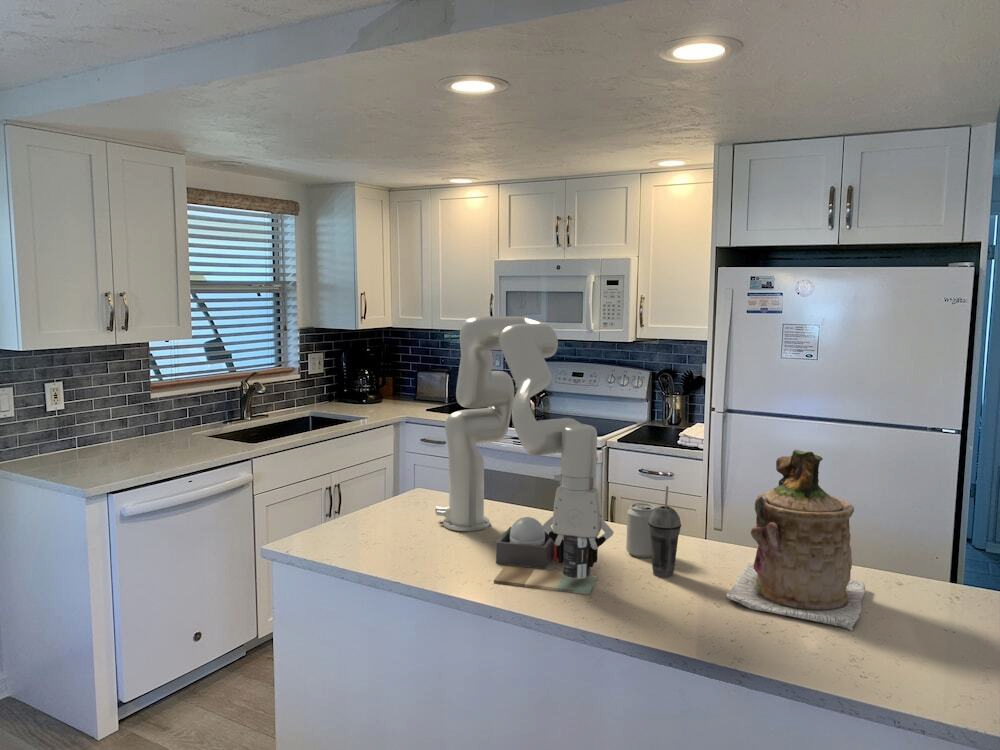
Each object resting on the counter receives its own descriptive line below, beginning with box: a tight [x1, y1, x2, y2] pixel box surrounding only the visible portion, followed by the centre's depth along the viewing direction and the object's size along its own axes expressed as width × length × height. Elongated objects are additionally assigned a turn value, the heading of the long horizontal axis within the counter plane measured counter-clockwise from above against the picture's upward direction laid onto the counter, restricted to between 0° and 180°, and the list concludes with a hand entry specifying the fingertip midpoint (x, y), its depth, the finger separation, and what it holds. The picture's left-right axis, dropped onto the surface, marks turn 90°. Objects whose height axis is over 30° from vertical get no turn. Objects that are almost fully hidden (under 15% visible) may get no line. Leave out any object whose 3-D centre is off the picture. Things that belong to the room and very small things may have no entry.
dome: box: [510, 516, 545, 546], centre depth 176 cm, size 8×8×8 cm
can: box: [625, 502, 657, 559], centre depth 179 cm, size 8×8×12 cm
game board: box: [493, 565, 597, 595], centre depth 162 cm, size 21×9×1 cm, turn 73°
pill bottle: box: [562, 535, 591, 579], centre depth 159 cm, size 6×6×11 cm
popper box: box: [495, 526, 564, 570], centre depth 175 cm, size 16×12×5 cm
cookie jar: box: [726, 449, 866, 632], centre depth 152 cm, size 25×25×32 cm
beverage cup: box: [648, 485, 682, 579], centre depth 165 cm, size 7×7×20 cm
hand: (576, 562), depth 159 cm, fingers closed on pill bottle, 6 cm apart
